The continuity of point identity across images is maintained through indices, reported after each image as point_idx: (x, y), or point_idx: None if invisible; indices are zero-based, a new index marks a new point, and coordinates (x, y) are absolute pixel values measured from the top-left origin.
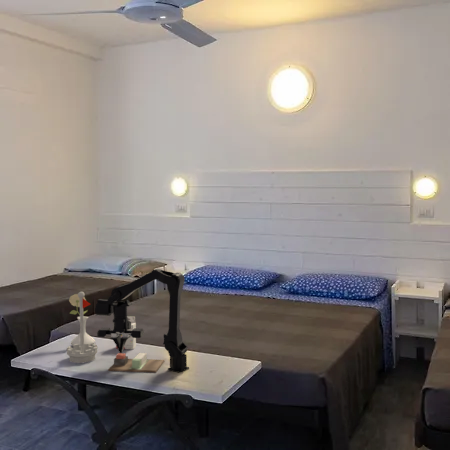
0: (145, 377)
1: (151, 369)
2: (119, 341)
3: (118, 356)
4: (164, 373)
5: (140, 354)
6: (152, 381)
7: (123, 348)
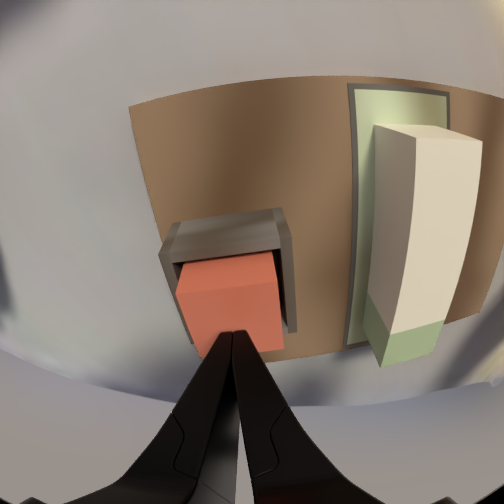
0: (427, 366)
1: (464, 307)
2: (220, 491)
3: None
4: (498, 302)
5: (438, 203)
6: (445, 380)
7: (264, 363)
